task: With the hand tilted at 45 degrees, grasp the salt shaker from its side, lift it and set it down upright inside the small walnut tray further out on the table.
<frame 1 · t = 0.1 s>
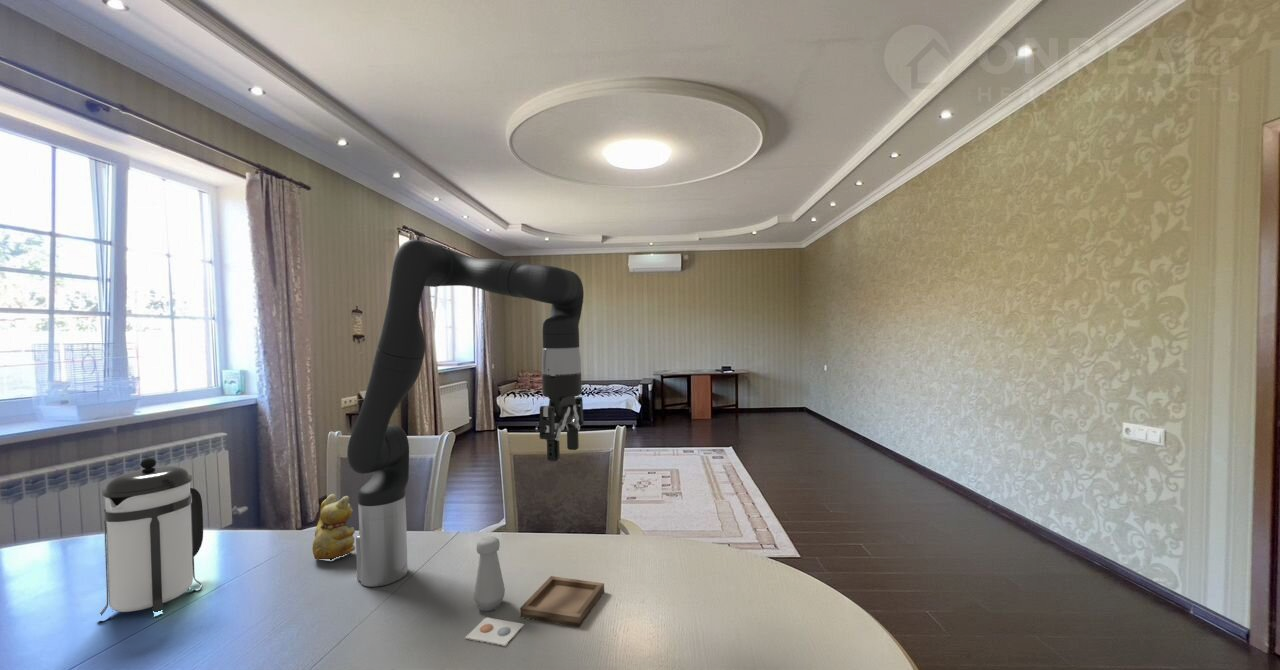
hand: (563, 454, 93), 29 cm above the table, tool pointing down, fingers open, 8 cm apart
coffee press: (156, 602, 99), on the table
salt shaker: (489, 606, 93), on the table
decorative figurine: (332, 559, 116), on the table
target card: (495, 632, 85), on the table
walnut tray: (564, 604, 93), on the table
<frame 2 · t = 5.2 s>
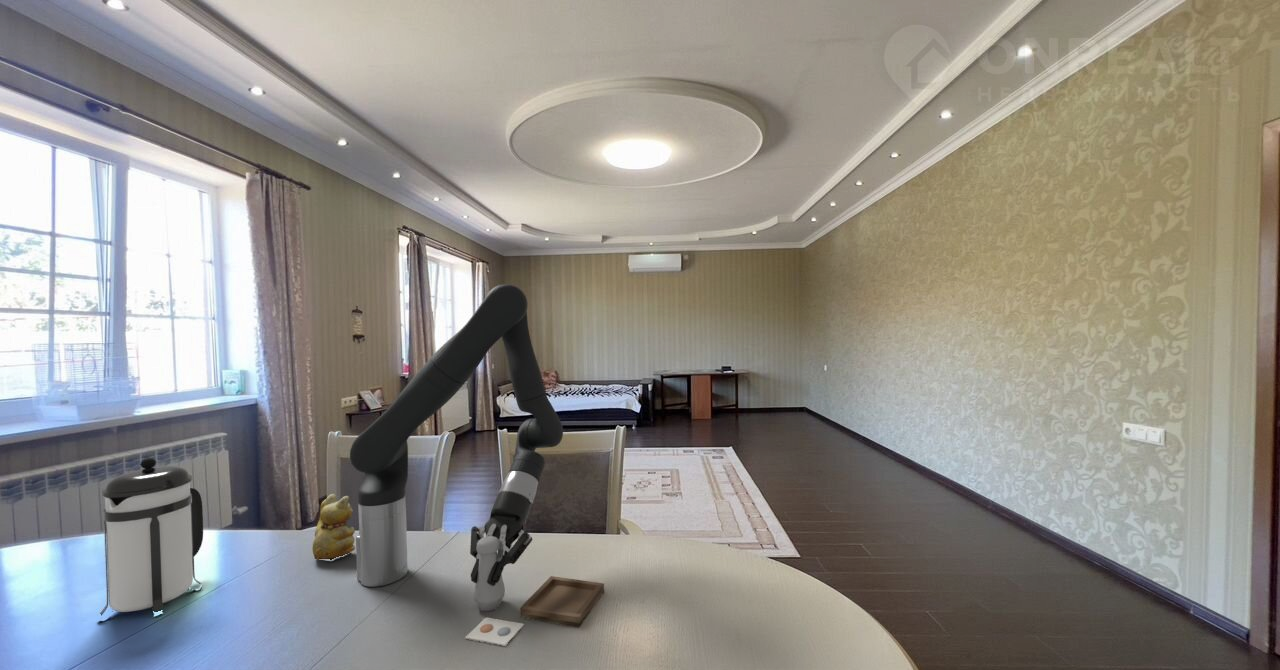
hand: (482, 582, 91), 5 cm above the table, tool tilted 45°, fingers closed on salt shaker, 3 cm apart
salt shaker: (489, 606, 93), on the table, touching gripper
everything else where it was.
when the fingers open (8 cm above the table, at t = 9.6 s): salt shaker drops 1 cm, resting on walnut tray.
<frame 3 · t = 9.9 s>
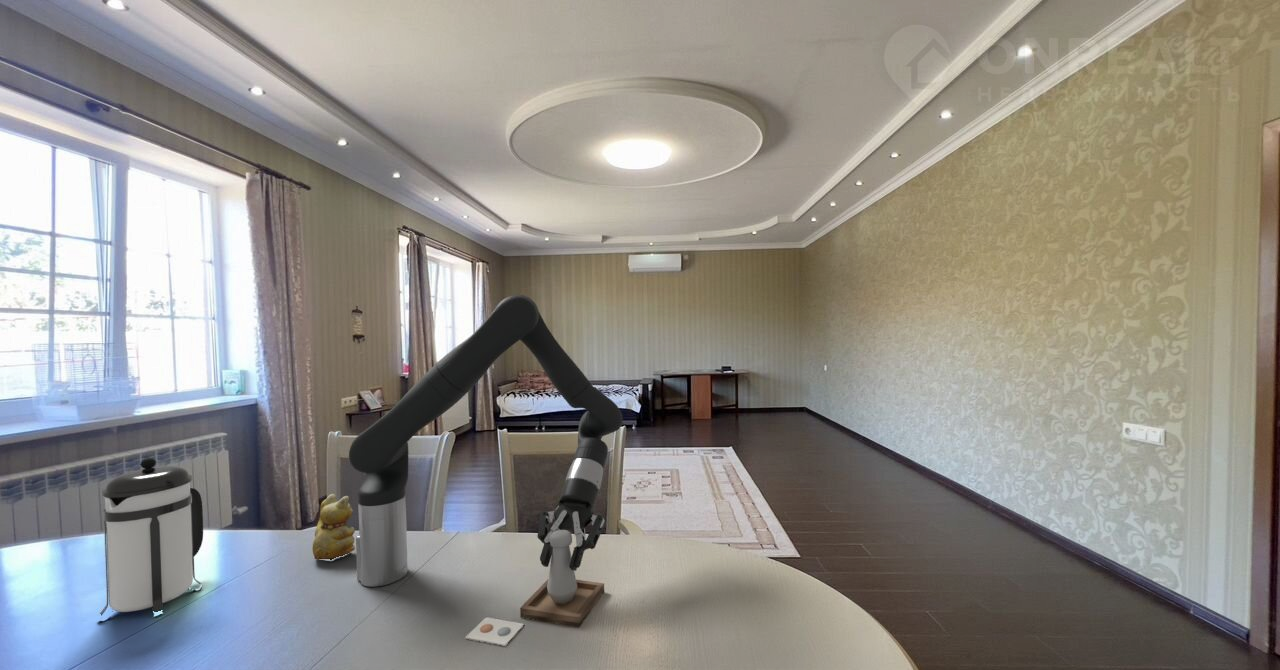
hand: (558, 566, 91), 8 cm above the table, tool tilted 45°, fingers open, 5 cm apart
salt shaker: (562, 599, 93), point 1 cm above the table, touching walnut tray
everything else where it was.
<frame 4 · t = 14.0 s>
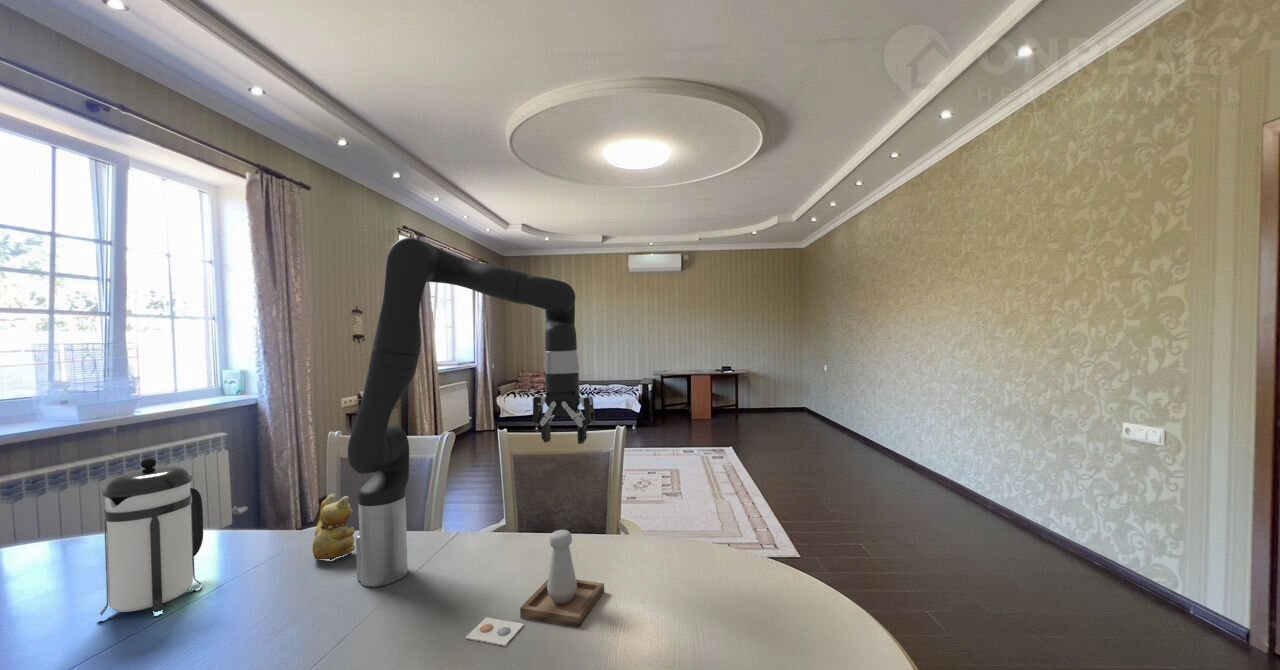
hand: (564, 442, 108), 28 cm above the table, tool pointing down, fingers open, 8 cm apart
nothing on the table moved.
at the end: salt shaker inside the target area on the walnut tray (0.6 cm from its centre), point 0.6 cm above the walnut tray's base; salt shaker tilted 0°; the gripper is holding nothing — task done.
